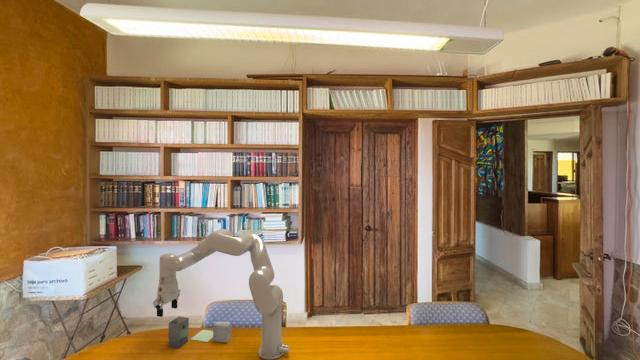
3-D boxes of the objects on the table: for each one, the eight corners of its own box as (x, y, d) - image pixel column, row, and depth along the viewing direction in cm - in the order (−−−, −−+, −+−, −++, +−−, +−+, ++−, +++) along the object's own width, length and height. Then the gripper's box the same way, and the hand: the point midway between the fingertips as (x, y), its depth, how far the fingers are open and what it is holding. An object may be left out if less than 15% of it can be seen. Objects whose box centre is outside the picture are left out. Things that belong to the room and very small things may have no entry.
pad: (218, 332, 157) (218, 332, 157) (207, 342, 147) (207, 341, 147) (202, 330, 159) (202, 329, 159) (190, 339, 149) (190, 339, 149)
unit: (188, 341, 148) (189, 318, 148) (179, 349, 141) (179, 324, 141) (178, 339, 149) (178, 316, 150) (167, 347, 143) (168, 322, 143)
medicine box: (231, 338, 151) (231, 321, 151) (227, 343, 147) (227, 326, 147) (216, 337, 152) (216, 321, 152) (212, 342, 147) (212, 325, 147)
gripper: (160, 285, 138) (160, 320, 138) (185, 274, 155) (185, 305, 155) (147, 283, 140) (147, 318, 140) (174, 272, 157) (173, 304, 156)
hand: (167, 312), depth 147 cm, fingers open, 9 cm apart
